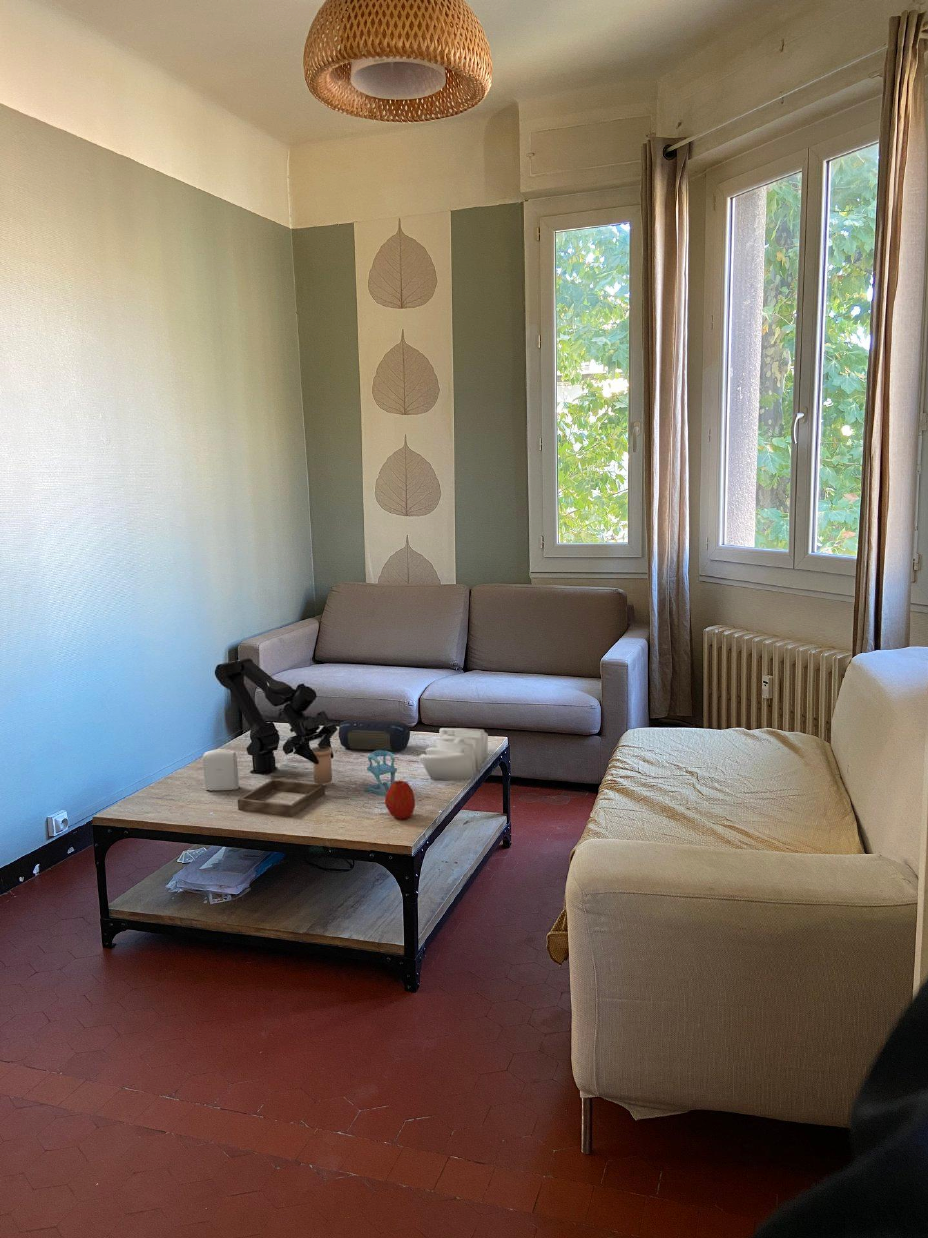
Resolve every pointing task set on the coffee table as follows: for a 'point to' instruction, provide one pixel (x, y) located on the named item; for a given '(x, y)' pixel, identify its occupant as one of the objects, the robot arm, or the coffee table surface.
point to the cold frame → (252, 804)
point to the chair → (381, 771)
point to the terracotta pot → (322, 765)
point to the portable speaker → (374, 735)
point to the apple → (400, 800)
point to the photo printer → (220, 770)
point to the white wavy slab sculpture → (456, 754)
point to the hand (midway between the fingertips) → (325, 760)
